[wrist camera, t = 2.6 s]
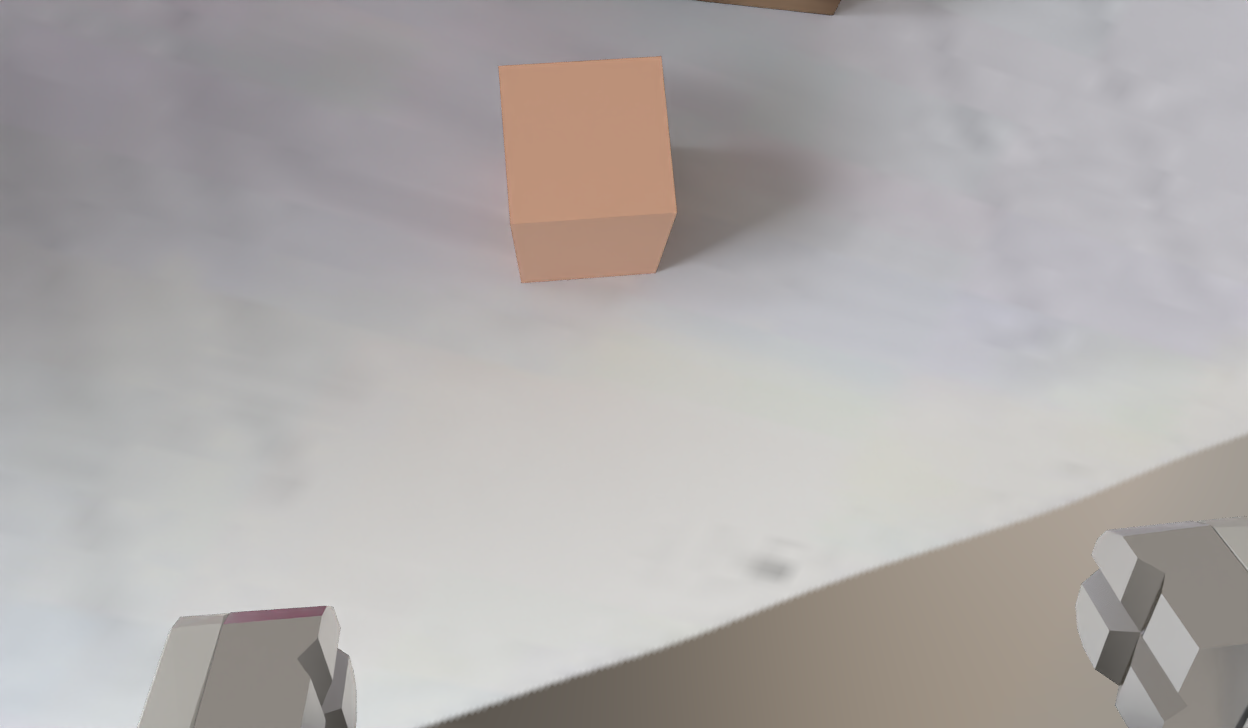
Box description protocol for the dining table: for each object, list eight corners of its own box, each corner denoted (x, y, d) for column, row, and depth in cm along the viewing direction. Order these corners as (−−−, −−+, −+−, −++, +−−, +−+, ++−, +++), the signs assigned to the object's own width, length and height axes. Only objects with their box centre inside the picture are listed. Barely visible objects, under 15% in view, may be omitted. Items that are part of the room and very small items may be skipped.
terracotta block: (521, 283, 38) (510, 224, 30) (511, 154, 38) (498, 65, 31) (655, 273, 38) (676, 212, 31) (643, 145, 39) (661, 56, 31)
